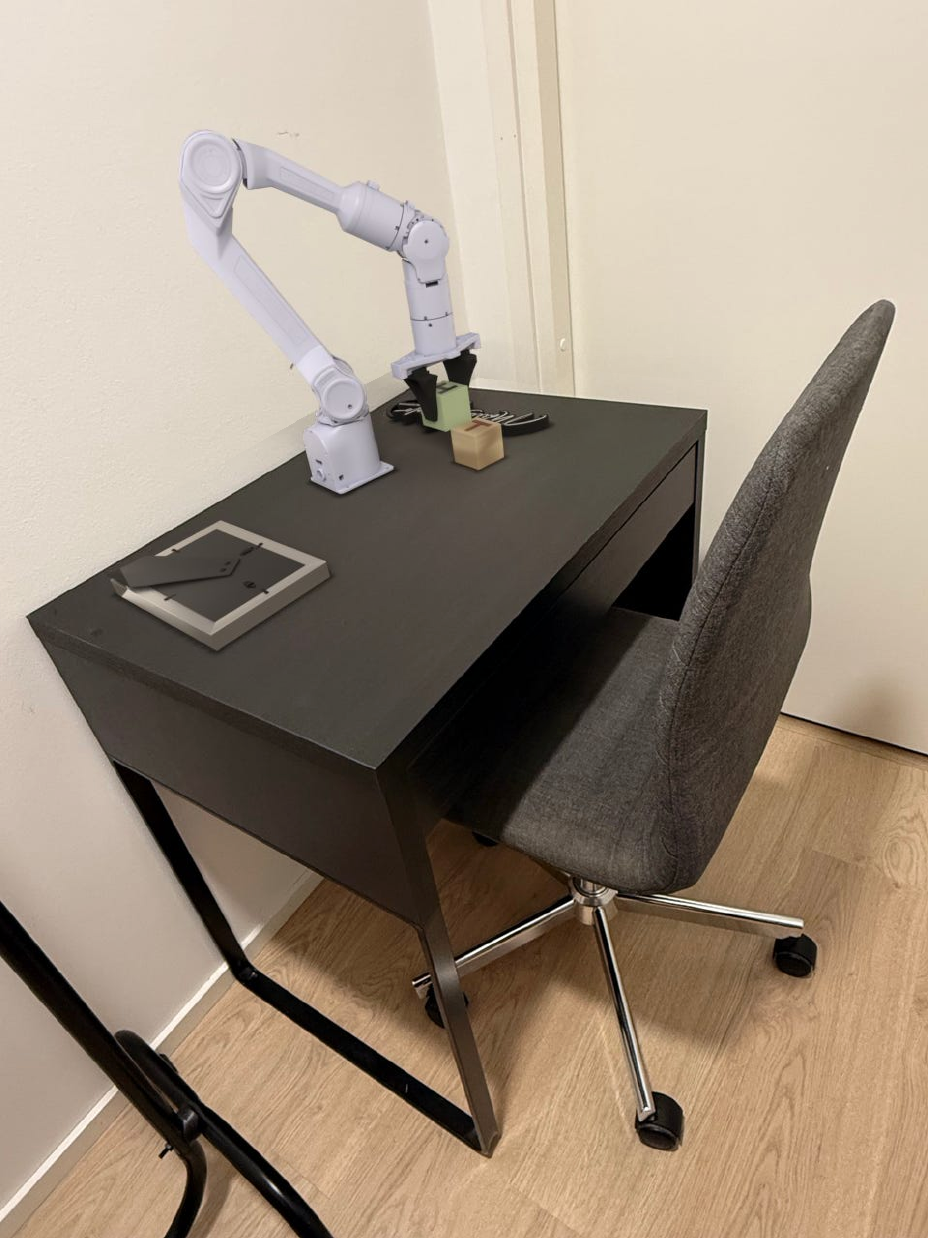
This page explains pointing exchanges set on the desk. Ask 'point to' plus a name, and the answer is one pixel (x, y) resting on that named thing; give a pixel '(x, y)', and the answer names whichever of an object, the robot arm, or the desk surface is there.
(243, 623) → the picture frame
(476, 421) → the cream block
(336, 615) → the desk surface
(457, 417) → the sage block
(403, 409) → the nameplate
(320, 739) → the desk surface
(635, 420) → the desk surface
